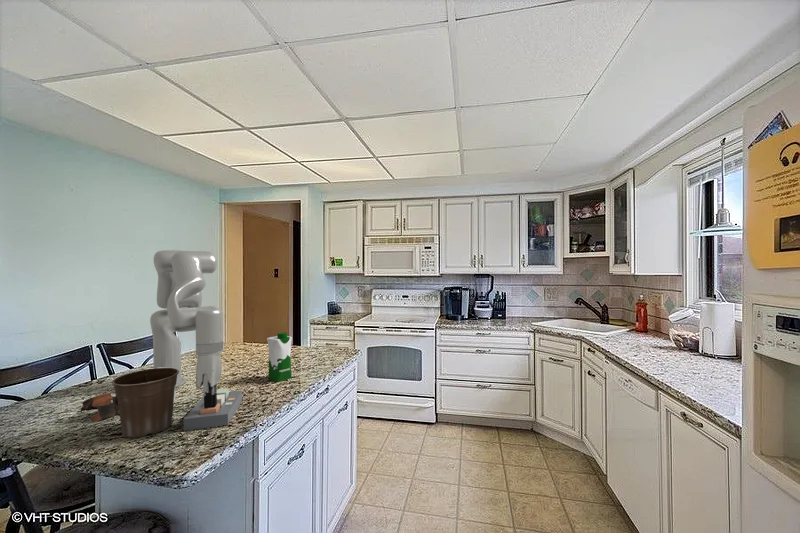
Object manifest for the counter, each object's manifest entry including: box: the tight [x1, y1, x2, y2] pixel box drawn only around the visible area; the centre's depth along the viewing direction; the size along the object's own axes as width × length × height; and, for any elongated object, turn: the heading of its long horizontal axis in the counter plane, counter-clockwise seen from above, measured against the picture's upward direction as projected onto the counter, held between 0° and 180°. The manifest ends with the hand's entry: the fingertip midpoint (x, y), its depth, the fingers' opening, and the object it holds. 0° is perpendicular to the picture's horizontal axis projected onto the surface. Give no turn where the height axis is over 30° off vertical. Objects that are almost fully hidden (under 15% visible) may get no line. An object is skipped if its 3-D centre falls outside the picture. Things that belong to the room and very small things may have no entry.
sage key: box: [216, 388, 230, 399], centre depth 118 cm, size 4×4×3 cm
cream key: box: [217, 394, 225, 406], centre depth 112 cm, size 4×4×3 cm
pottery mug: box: [79, 392, 119, 423], centre depth 113 cm, size 12×10×8 cm
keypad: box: [183, 390, 243, 431], centre depth 112 cm, size 21×12×4 cm, turn 14°
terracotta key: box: [200, 403, 220, 415], centre depth 106 cm, size 4×4×3 cm
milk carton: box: [266, 331, 293, 383], centre depth 148 cm, size 9×9×20 cm
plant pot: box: [111, 367, 179, 439], centre depth 102 cm, size 16×16×16 cm
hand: (210, 406), depth 106 cm, fingers closed
